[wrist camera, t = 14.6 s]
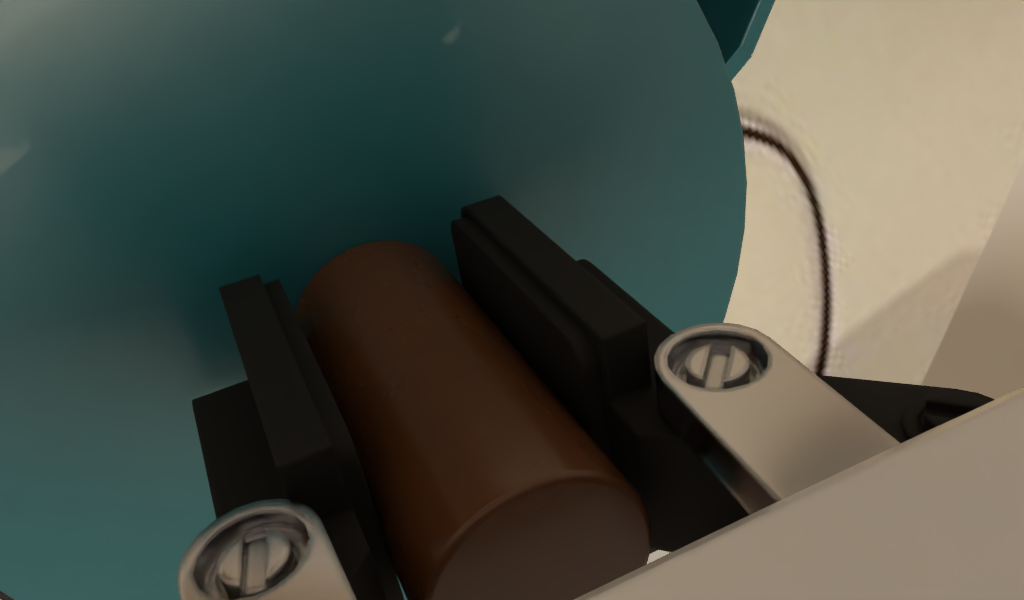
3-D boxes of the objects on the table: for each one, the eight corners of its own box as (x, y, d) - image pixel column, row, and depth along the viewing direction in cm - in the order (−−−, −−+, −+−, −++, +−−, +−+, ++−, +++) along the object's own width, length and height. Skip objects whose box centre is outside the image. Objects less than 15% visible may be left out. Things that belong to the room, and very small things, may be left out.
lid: (-103, -423, 8) (-416, -874, 3) (819, -9, 15) (1251, 88, 9) (-195, 624, 12) (-398, 1238, 7) (558, 592, 19) (755, 901, 13)
